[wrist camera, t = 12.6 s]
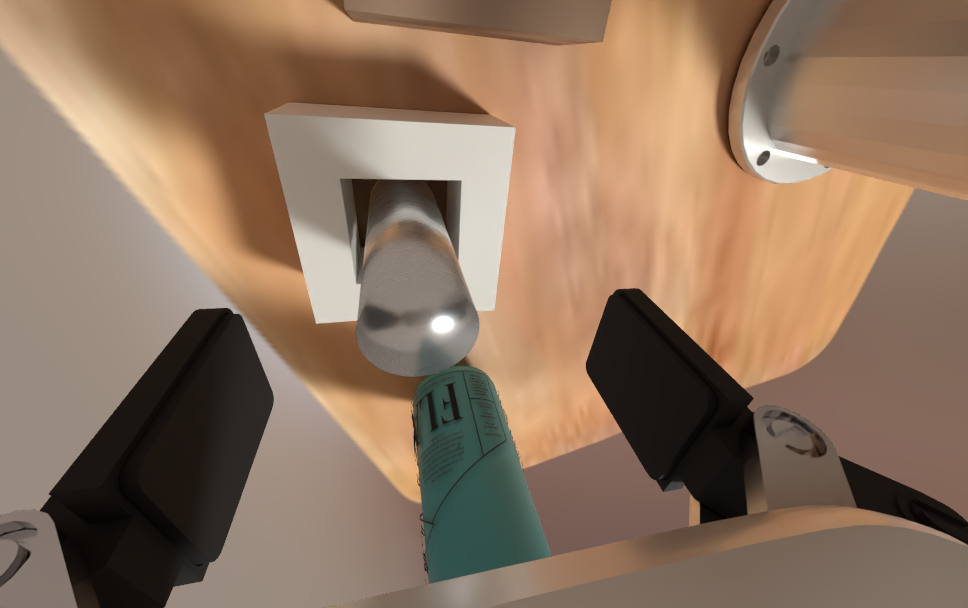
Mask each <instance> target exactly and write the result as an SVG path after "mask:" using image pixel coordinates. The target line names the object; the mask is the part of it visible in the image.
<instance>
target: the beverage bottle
mask: <svg viewBox="0 0 968 608" xmlns="http://www.w3.org/2000/svg"><path fill="white" fill-rule="evenodd" d="M498 393H499V391H498ZM413 398H414V400H413V399H412V400H413V405H412V406H413V411H414V416H413V414H412V420H413V426H412V427H414V435H413V437H414V451H416V449H415V440H416V446H417V454H416V457H417V456H418V460H417V463H418V464H417V465H418V467H419V477H418V478H420V479H419V480H420V481H419V482H420V485H419V484H418V485H419V486H420V489H421V500H422V511H423V513H422V514H421V516H422V515H423V520H422V519H420V520H421V521H423V522H424V530H423V531H424V534H425V535H424V536H425V544H426V551H425V553H426V556H427V560H425V558H424V561H425V562H426V561H427V563H425V565H426V566H427V573H428V578H429V584H431V583H435V582H440V581H444V580H449V579H453V578H458V577H462V576H467V575H471V574H476V573H480V572H485V571H489V570H494V569H498V568H503V567H507V566H512V565H516V564H521V563H525V562H530V561H534V560H539V559H543V558H548V557H552V556H551V553H550V550H549V547H548V544H547V541H546V538H545V535H544V532H543V529H542V527H541V524H540V521H539V518H538V515H537V512H536V509H535V506H534V503H533V500H532V497H531V495H530V492H529V489H528V486H527V483H526V480H525V477H524V474H523V471H522V468H521V465H520V461H519V460H520V458H519V457H518V456H519V455H518V454H517V451H516V448H515V445H514V442H513V437H512V436H511V429H510V430H509V427H508V422H507V418H508V417H507V415H506V414H505V415H506V418H505V415H504V412H505V411H504V412H503V410H502V407H501V403H500V401H499V395H497V392H496V389H495V386H494V384H493V382H492V380H491V379H490V378H489V377H488V375H487V374H486V373H484V372H483V371H481V370H479V369H477V368H474V367H470V366H452V367H450V368H448V369H446V370H443V371H441V372H438V373H435V374H431V375H429V376H428V377H426V378H425V379H424V380H423V381H422V382H421V383H420V384H419V386H418V388H417V389H416V392H415V395H414V397H413ZM411 404H412V403H411ZM411 413H412V410H411ZM521 460H522V459H521ZM415 461H416V460H415ZM522 466H523V464H522ZM417 481H418V480H417ZM417 483H418V482H417ZM421 516H420V517H421ZM422 529H423V528H422ZM421 532H422V531H421ZM422 534H423V533H422ZM424 556H425V554H424ZM425 565H424V566H425ZM425 571H426V569H425Z"/></svg>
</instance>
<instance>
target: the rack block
mask: <svg viewBox="0 0 968 608" xmlns="http://www.w3.org/2000/svg"><path fill="white" fill-rule="evenodd" d="M264 117H265V121H266V125H267V129H268V133H269V137H270V141H271V145H272V149H273V153H274V157H275V161H276V165H277V169H278V173H279V177H280V181H281V185H282V189H283V193H284V197H285V201H286V205H287V209H288V213H289V217H290V221H291V225H292V229H293V233H294V237H295V241H296V245H297V249H298V253H299V257H300V261H301V265H302V269H303V273H304V277H305V281H306V285H307V289H308V293H309V297H310V301H311V305H312V309H313V313H314V317H315V321H316V324H319V323H332V322H345V321H357V317H358V307H359V298H360V288H361V279H362V269H363V260H364V250H365V247H361V246H360V238H359V231H358V224H357V216H356V209H355V201H354V194H353V187H352V179H403V180H447V232H448V235H449V238H450V241H451V243H452V246H453V249H454V251H455V254H456V257H457V260H458V262H459V265H460V268H461V270H462V273H463V276H464V279H465V281H466V284H467V287H468V289H469V292H470V295H471V298H472V300H473V303H474V306H475V308H476V311H477V312H478V311H491V310H494V308H495V300H496V291H497V283H498V274H499V265H500V257H501V248H502V240H503V231H504V222H505V214H506V205H507V197H508V188H509V179H510V171H511V162H512V154H513V145H514V137H515V128H516V127H514V126H512V125H510V124H508V123H506V122H504V121H502V120H500V119H498V118H496V117H494V116H492V115H485V114H470V113H454V112H438V111H422V110H406V109H390V108H374V107H358V106H342V105H326V104H311V103H295V102H289V103H287V104H284V105H282V106H280V107H278V108H275V109H273V110H271V111H269V112H266V113H264Z"/></svg>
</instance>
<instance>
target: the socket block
mask: <svg viewBox="0 0 968 608" xmlns="http://www.w3.org/2000/svg"><path fill="white" fill-rule="evenodd" d="M611 1H612V0H344V9H345V11H346V12H347V13H348V15H349V16H350V17H351V19H352V20H353V21H355V22H363V23H372V24H380V25H389V26H398V27H406V28H415V29H423V30H432V31H440V32H449V33H457V34H466V35H474V36H483V37H491V38H500V39H508V40H517V41H525V42H534V43H542V44H551V45H571V44H583V43H595V42H603V38H604V33H605V28H606V24H607V19H608V15H609V10H610V5H611Z"/></svg>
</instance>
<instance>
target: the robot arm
mask: <svg viewBox="0 0 968 608" xmlns="http://www.w3.org/2000/svg"><path fill="white" fill-rule="evenodd" d="M728 133H729V139H730V144H731V149H732V152H733V154H734V156H735V158H736V160H737V163H738V164H739V165H740V166H741V167H742V168H743V169H744V170H745V172H746V173H748V174H750V175H752V176H754V177H756V178H758V179H760V180H764V181H768V182H771V183H775V184H793V183H798V182H802V181H806V180H809V179H811V178H814V177H816V176H819V175H821V174H824V173H825V172H827V171H829V170H831V169H832V168H835V169H839V170H844V171H848V172H852V173H856V174H860V175H864V176H869V177H873V178H877V179H881V180H885V181H889V182H893V183H898V184H902V185H906V186H910V187H914V188H918V189H923V190H927V191H931V192H935V193H940V194H943V195H948V196H952V197H956V198H961V199H965V200H968V0H773V1H772V3H771V4H770V6H769V8H768V9H767V11H766V13H765V15H764V16H763V18H762V20H761V22H760V23H759V25H758V27H757V29H756V30H755V32H754V34H753V36H752V39H751V41H750V43H749V45H748V48H747V50H746V52H745V54H744V57H743V59H742V61H741V64H740V67H739V71H738V74H737V77H736V80H735V83H734V87H733V91H732V97H731V103H730V108H729V132H728ZM586 370H587V373H588V375H589V377H590V379H591V380H592V382H593V384H594V385H595V387H596V389H597V390H598V392H599V394H600V395H601V397H602V399H603V400H604V402H605V404H606V405H607V407H608V409H609V410H610V412H611V414H612V415H613V417H614V419H615V420H616V422H617V424H618V425H619V427H620V429H621V430H622V432H623V433H624V435H625V437H626V439H627V440H628V442H629V444H630V445H631V447H632V449H633V450H634V452H635V453H636V455H637V457H638V459H639V460H640V462H641V464H642V465H643V467H644V469H645V470H646V472H647V473H648V475H649V476H650V477H651V478H652V479H654V480H656V481H657V482H658V484H659V486H660V487H661V489H662V491H663V492H665V491H671V490H675V489H681V488H682V487H683V486H684V485H685V486H686V487H687V489H688V490H689V492H690V520H689V527H685V528H681V529H676V530H671V531H667V532H662V533H658V534H653V535H648V536H644V537H639V538H635V539H630V540H626V541H621V542H616V543H611V544H607V545H602V546H598V547H593V548H589V549H584V550H580V551H575V552H571V553H566V554H561V555H558V556H553V557H548V558H543V559H539V560H534V561H530V562H525V563H521V564H516V565H512V566H507V567H503V568H498V569H494V570H489V571H485V572H480V573H476V574H471V575H467V576H462V577H458V578H453V579H449V580H444V581H440V582H435V583H431V584H426V585H422V586H418V587H414V588H409V589H405V590H400V591H396V592H392V593H387V594H382V595H378V596H374V597H369V598H365V599H360V600H356V601H351V602H347V603H343V604H339V605H334V606H329V607H325V608H968V522H967V521H966V520H965V519H964V518H963V517H962V516H960V515H959V514H958V513H957V512H955V511H954V510H953V509H951V508H950V507H948V506H946V505H945V504H943V503H941V502H939V501H937V500H935V499H933V498H931V497H929V496H927V495H925V494H923V493H921V492H919V491H917V490H915V489H912V488H910V487H908V486H905V485H903V484H901V483H899V482H896V481H894V480H892V479H890V478H887V477H885V476H883V475H880V474H878V473H876V472H873V471H871V470H869V469H867V468H864V467H862V466H860V465H858V464H855V463H853V462H851V461H848V460H846V459H844V458H841V457H839V456H838V454H837V451H836V448H835V447H834V445H833V443H832V441H831V440H830V439H829V437H828V436H827V435H826V434H825V433H824V432H823V431H822V430H821V429H820V428H819V427H817V426H816V425H815V424H814V423H813V422H811V421H810V420H808V419H806V418H805V417H803V416H801V415H800V414H798V413H796V412H794V411H791V410H789V409H787V408H783V407H780V406H776V405H763V406H759V407H758V408H756V409H755V411H754V412H751V411H750V409H748V407H747V406H748V405H749V404H750V402H751V401H752V400H753V397H752V396H751V395H750V394H749V393H747V391H746V390H745V389H744V388H742V387H741V386H740V385H739V384H738V383H737V382H736V381H735V380H734V379H733V378H732V377H731V376H730V375H729V374H728V373H727V372H726V371H725V370H724V369H723V368H722V367H721V366H719V365H718V364H717V363H716V362H715V361H714V360H713V359H712V358H711V357H710V356H709V355H708V354H707V353H706V352H705V351H704V350H703V349H702V348H701V347H700V346H699V345H698V344H697V343H695V342H694V341H693V340H692V339H691V338H690V337H689V336H688V335H687V334H686V333H685V332H684V331H683V330H682V329H681V328H680V327H679V326H678V325H677V324H676V323H675V322H674V321H673V320H671V319H670V318H669V317H668V316H667V315H666V314H665V313H664V312H663V311H662V310H661V309H660V308H659V307H658V306H657V305H656V304H655V303H654V302H653V301H652V300H651V299H650V298H648V297H647V296H646V295H645V294H644V293H643V292H642V291H641V290H640V289H636V288H633V289H618V290H616V291H615V292H614V294H613V295H611V296H610V297H609V298H608V301H607V304H606V307H605V309H604V312H603V315H602V318H601V321H600V324H599V327H598V330H597V333H596V335H595V338H594V341H593V344H592V347H591V350H590V353H589V356H588V359H587V361H586ZM273 401H274V397H273V392H272V389H271V387H270V384H269V382H268V379H267V377H266V375H265V372H264V370H263V367H262V365H261V362H260V360H259V358H258V355H257V352H256V350H255V347H254V345H253V343H252V340H251V338H250V335H249V332H248V330H247V328H246V325H245V323H244V320H243V318H242V316H241V315H240V314H233V312H232V311H231V310H230V309H228V308H219V309H217V308H216V309H199V310H196V311H194V312H193V313H192V314H191V316H190V317H189V318H188V320H187V321H186V322H185V323H184V324H183V326H182V327H181V328H180V329H179V331H178V332H177V333H176V335H175V336H174V337H173V338H172V339H171V341H170V342H169V343H168V345H167V346H166V347H165V348H164V350H163V351H162V352H161V353H160V355H159V356H158V357H157V358H156V360H155V361H154V362H153V363H152V365H151V366H150V367H149V368H148V370H147V371H146V372H145V373H144V375H143V376H142V377H141V378H140V380H139V381H138V382H137V384H136V385H135V386H134V387H133V389H132V390H131V391H130V392H129V394H128V395H127V396H126V397H125V399H124V400H123V401H122V402H121V404H120V405H119V406H118V407H117V409H116V410H115V411H114V412H113V414H112V415H111V416H110V417H109V419H108V420H107V421H106V422H105V424H104V425H103V426H102V428H101V429H100V430H99V431H98V433H97V434H96V435H95V436H94V438H93V439H92V440H91V441H90V443H89V444H88V445H87V446H86V448H85V449H84V450H83V451H82V453H81V454H80V455H79V457H78V458H77V459H76V460H75V461H74V463H73V464H72V465H71V466H70V468H69V469H68V470H67V472H66V473H65V474H64V475H63V477H62V478H61V479H60V480H59V482H58V483H57V484H56V485H55V487H54V488H53V489H52V490H51V492H50V493H49V495H51V497H50V498H49V499H48V501H47V502H46V503H45V505H44V506H43V507H42V508H41V510H40V511H38V510H35V509H34V510H21V511H14V512H10V513H7V514H3V515H0V608H164V607H165V605H166V602H167V600H168V598H169V596H170V593H171V591H172V589H173V587H175V586H180V585H185V584H190V583H195V582H200V581H203V578H204V575H205V573H206V570H207V567H208V565H209V562H213V561H215V560H216V559H217V558H218V556H219V555H220V553H221V551H222V548H223V546H224V543H225V540H226V537H227V534H228V532H229V529H230V526H231V523H232V520H233V517H234V515H235V512H236V509H237V506H238V503H239V500H240V498H241V495H242V492H243V489H244V486H245V484H246V481H247V478H248V475H249V472H250V469H251V467H252V464H253V461H254V458H255V455H256V452H257V450H258V447H259V444H260V441H261V438H262V436H263V433H264V430H265V427H266V424H267V421H268V418H269V416H270V413H271V410H272V407H273Z"/></svg>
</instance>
